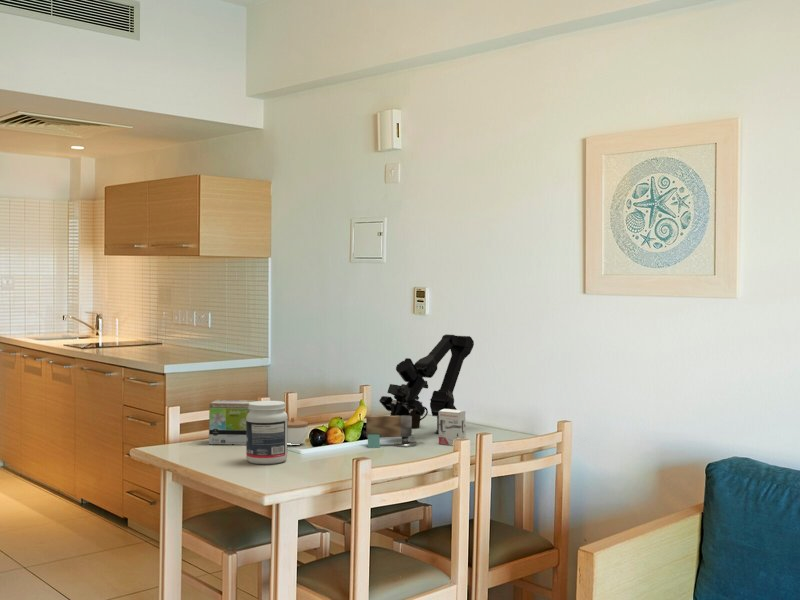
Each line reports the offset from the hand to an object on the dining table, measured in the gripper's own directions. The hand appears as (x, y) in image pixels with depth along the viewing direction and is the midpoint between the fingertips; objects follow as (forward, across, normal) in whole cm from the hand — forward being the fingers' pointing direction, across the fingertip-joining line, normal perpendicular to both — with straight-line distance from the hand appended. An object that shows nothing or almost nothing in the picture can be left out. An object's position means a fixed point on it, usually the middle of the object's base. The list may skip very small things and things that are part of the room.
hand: (390, 424), depth 305 cm
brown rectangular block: (+5, +3, 0) cm, 6 cm away
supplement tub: (+40, -2, -32) cm, 52 cm away
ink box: (-5, +17, +15) cm, 23 cm away
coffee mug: (-15, -18, +26) cm, 35 cm away
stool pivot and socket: (+7, +5, +2) cm, 9 cm away
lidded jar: (+24, -20, -15) cm, 35 cm away
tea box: (+33, -38, -24) cm, 56 cm away
